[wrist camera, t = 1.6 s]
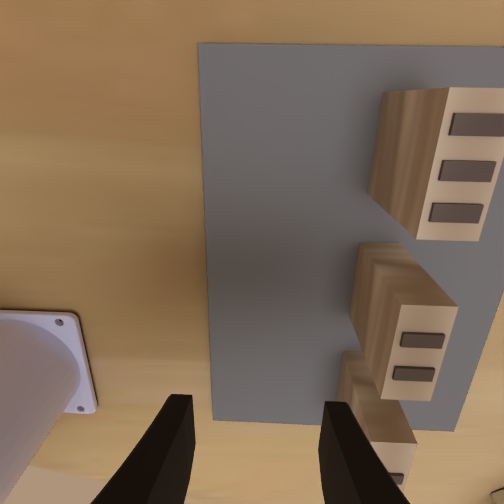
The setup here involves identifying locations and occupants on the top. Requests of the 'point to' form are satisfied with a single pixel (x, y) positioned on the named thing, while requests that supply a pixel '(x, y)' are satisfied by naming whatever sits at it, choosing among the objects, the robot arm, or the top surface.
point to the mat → (322, 222)
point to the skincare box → (498, 497)
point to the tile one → (377, 417)
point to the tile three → (438, 159)
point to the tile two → (400, 321)
